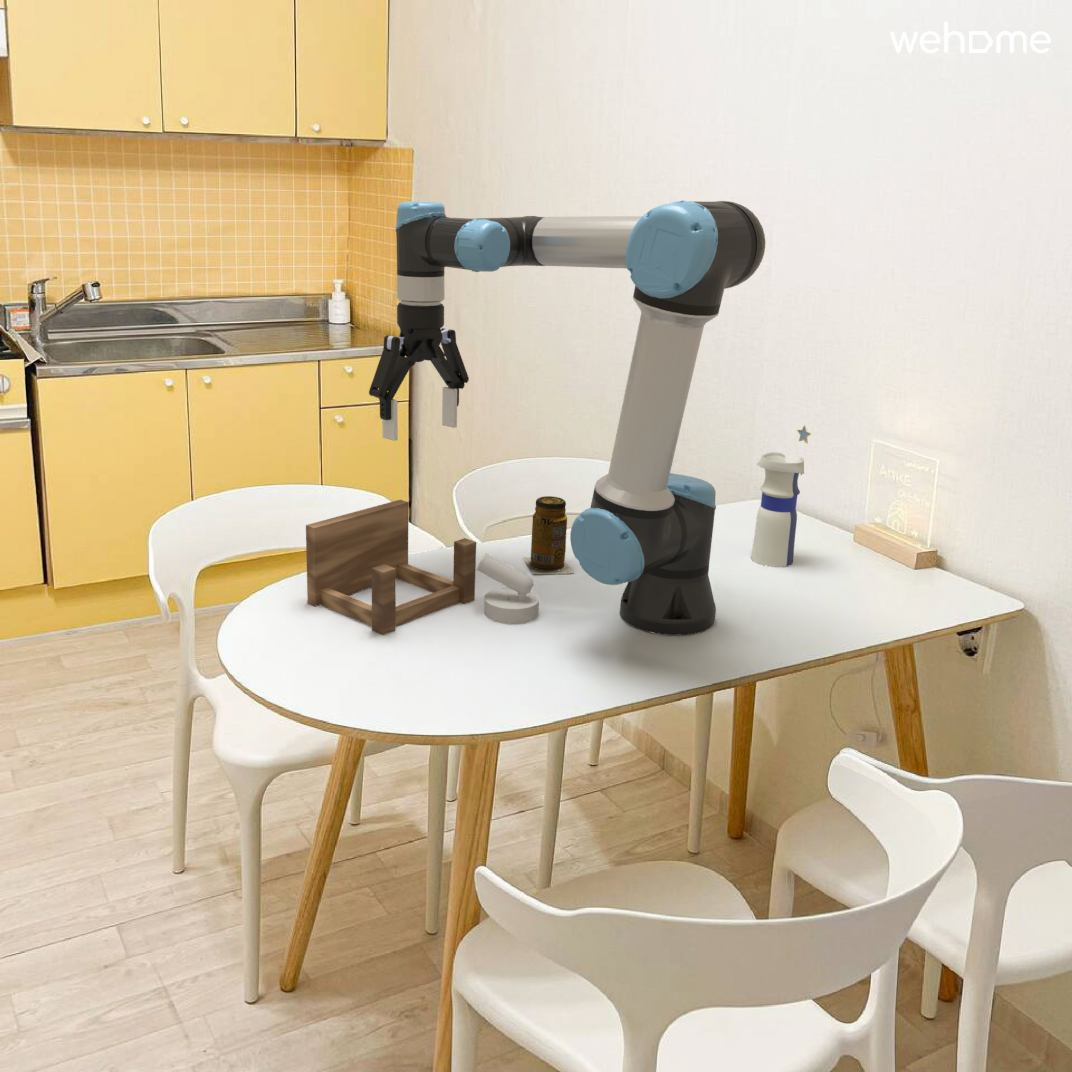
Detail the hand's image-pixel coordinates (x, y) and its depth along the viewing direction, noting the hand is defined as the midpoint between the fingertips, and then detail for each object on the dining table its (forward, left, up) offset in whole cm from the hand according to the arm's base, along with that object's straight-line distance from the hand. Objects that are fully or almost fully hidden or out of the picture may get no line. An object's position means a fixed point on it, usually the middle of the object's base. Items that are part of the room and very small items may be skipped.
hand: (420, 432), depth 191 cm
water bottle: (-40, -51, -25) cm, 69 cm away
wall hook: (-23, +3, -25) cm, 34 cm away
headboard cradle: (-7, +13, -24) cm, 28 cm away
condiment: (-14, -18, -25) cm, 34 cm away
